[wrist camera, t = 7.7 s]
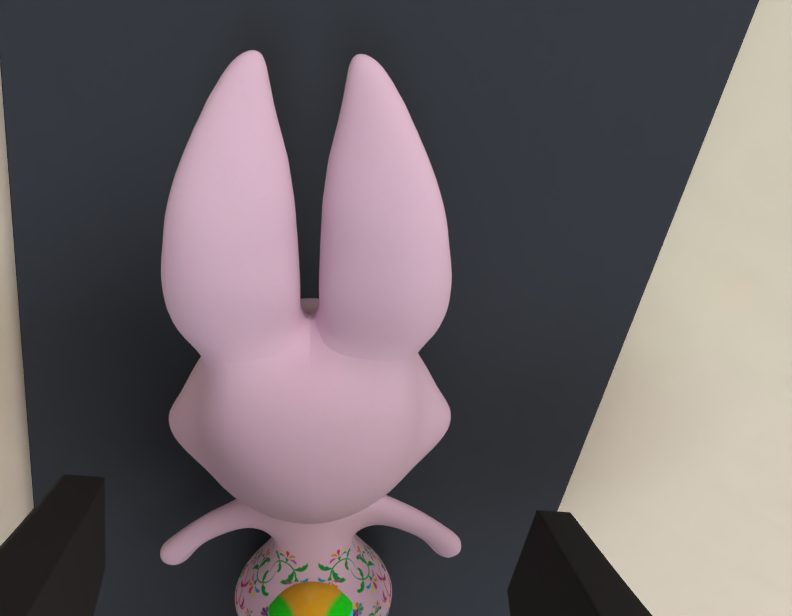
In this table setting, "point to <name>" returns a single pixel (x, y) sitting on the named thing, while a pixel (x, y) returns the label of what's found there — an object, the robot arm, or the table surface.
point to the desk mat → (308, 158)
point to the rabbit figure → (307, 340)
